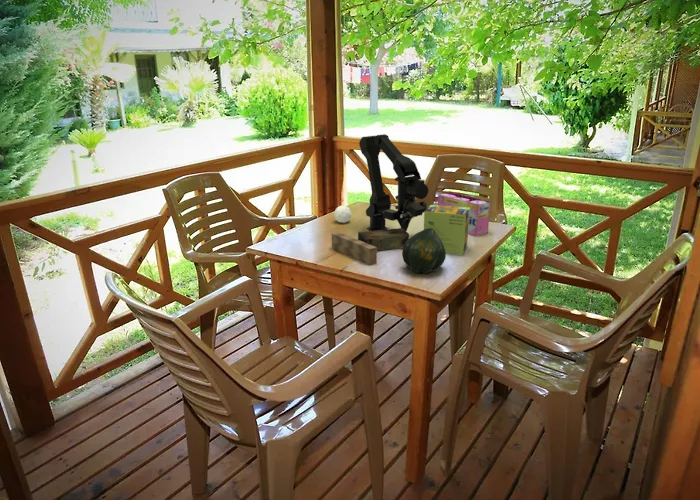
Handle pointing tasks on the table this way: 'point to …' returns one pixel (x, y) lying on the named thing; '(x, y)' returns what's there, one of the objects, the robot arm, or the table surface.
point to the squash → (424, 251)
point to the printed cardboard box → (385, 238)
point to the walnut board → (354, 248)
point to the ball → (342, 214)
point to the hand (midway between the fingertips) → (404, 232)
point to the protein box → (449, 226)
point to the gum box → (476, 213)
